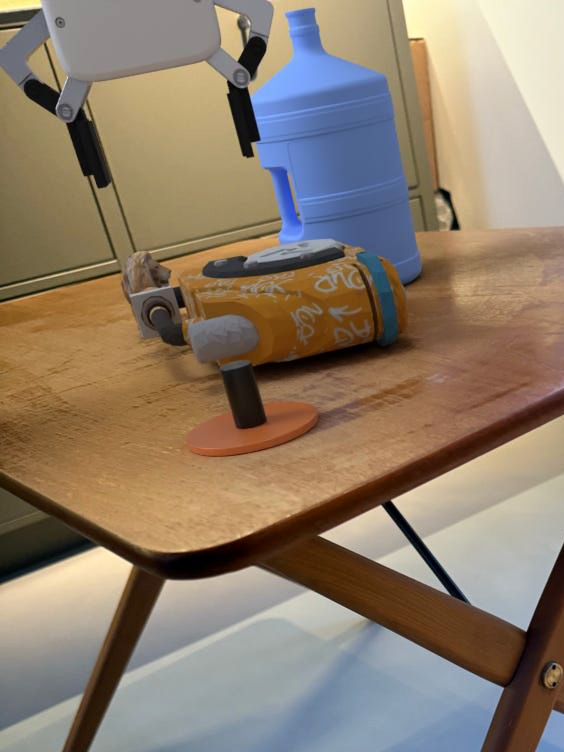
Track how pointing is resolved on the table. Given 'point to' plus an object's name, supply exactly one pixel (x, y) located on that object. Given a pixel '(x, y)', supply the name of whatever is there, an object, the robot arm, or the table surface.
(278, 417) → the lid
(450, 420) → the table surface
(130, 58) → the robot arm
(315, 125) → the water jug
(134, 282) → the lion figurine
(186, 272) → the device
